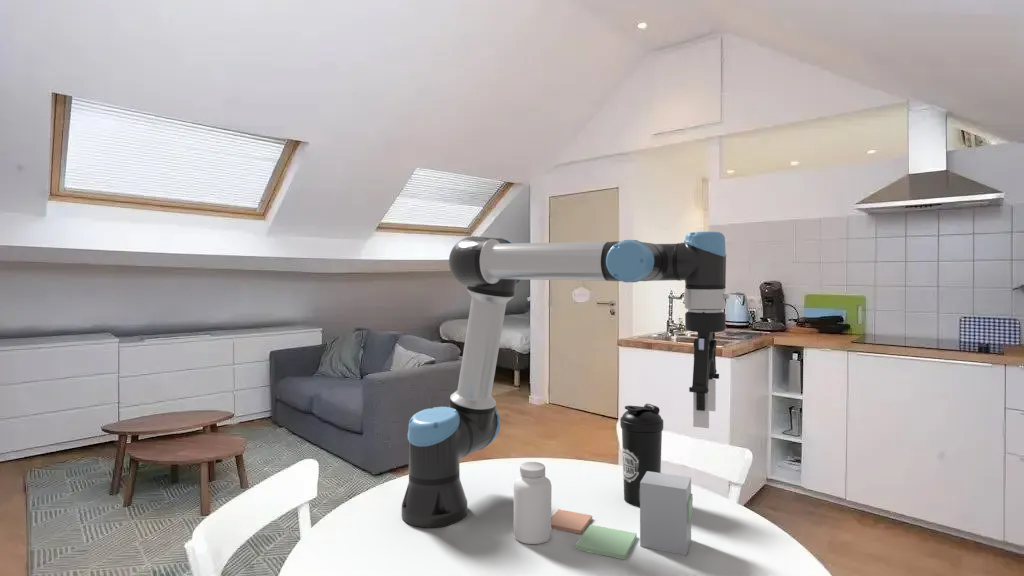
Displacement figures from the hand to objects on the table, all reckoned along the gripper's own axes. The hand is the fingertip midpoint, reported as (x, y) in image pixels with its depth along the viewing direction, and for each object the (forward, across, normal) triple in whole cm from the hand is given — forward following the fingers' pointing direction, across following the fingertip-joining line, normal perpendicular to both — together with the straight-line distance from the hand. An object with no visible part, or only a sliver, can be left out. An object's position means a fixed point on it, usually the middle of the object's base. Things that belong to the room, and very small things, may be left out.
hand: (705, 418), depth 109 cm
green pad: (+26, -5, +19) cm, 33 cm away
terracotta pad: (+26, +1, +28) cm, 39 cm away
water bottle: (+27, +20, +16) cm, 37 cm away
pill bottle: (+27, -8, +34) cm, 44 cm away
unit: (+26, 0, +8) cm, 27 cm away
